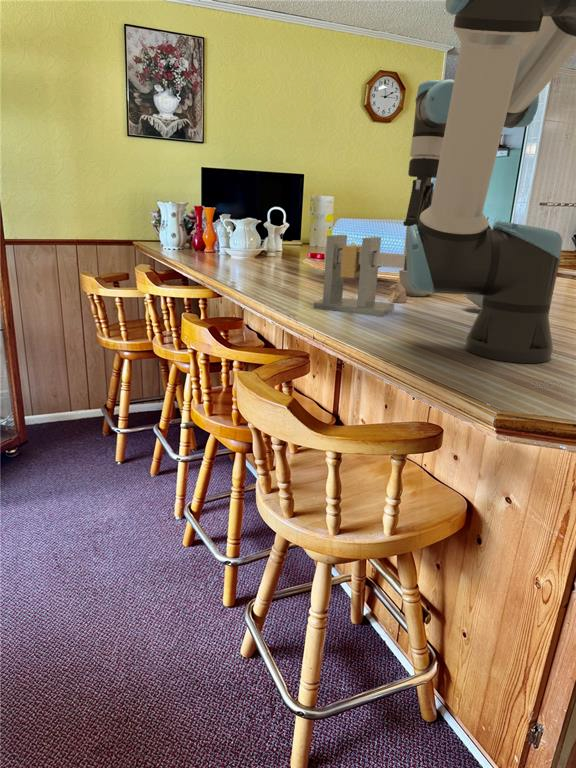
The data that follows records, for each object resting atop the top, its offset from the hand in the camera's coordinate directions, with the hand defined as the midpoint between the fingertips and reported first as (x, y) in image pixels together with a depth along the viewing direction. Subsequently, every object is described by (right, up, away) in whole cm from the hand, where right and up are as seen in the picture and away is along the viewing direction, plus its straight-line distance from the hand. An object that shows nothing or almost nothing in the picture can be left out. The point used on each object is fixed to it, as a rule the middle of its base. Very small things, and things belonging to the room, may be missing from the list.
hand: (415, 254), depth 130 cm
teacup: (+9, -4, +39) cm, 40 cm away
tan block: (-14, 0, +6) cm, 16 cm away
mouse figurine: (+2, -8, +23) cm, 25 cm away
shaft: (-10, -2, +5) cm, 11 cm away
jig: (-14, -12, +9) cm, 20 cm away
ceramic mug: (+21, -12, +15) cm, 29 cm away
